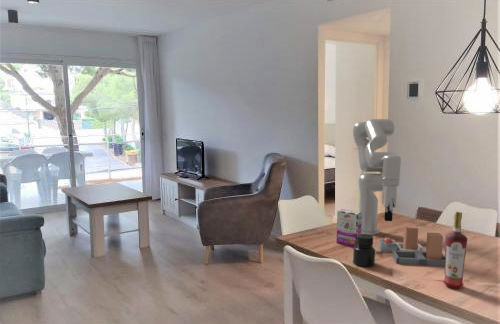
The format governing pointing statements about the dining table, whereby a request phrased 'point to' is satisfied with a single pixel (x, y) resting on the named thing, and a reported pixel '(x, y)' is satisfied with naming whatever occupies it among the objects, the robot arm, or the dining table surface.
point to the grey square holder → (387, 246)
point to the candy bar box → (348, 227)
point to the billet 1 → (410, 237)
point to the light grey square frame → (410, 250)
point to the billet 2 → (434, 246)
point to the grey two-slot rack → (416, 258)
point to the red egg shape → (387, 240)
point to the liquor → (455, 254)
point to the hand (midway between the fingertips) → (388, 220)
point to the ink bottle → (364, 251)
